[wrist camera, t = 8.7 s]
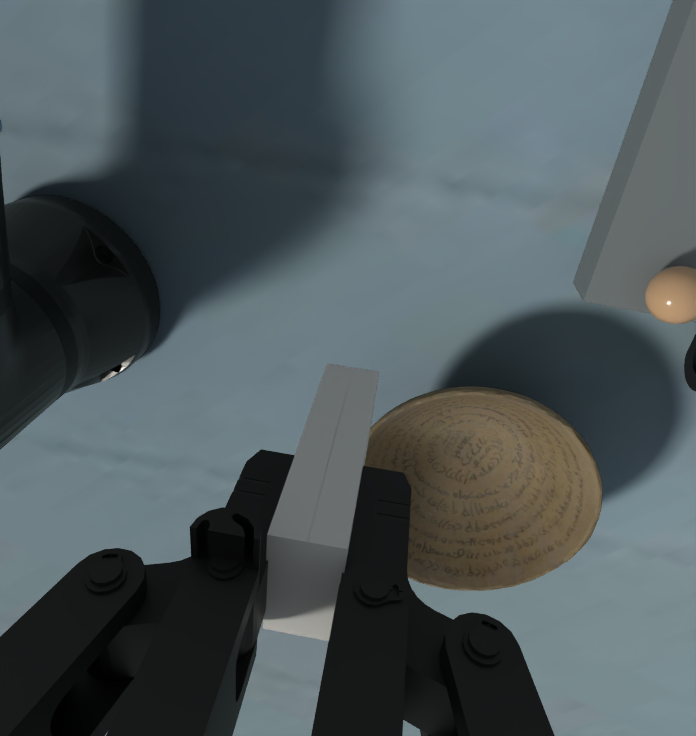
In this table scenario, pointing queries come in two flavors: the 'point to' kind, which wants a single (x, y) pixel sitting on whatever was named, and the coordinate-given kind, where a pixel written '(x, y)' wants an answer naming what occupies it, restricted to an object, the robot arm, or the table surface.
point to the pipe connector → (691, 365)
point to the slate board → (650, 180)
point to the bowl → (488, 486)
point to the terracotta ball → (673, 295)
